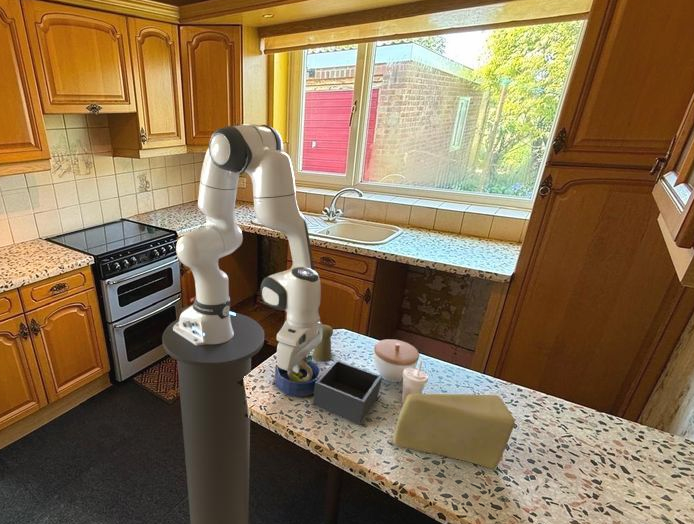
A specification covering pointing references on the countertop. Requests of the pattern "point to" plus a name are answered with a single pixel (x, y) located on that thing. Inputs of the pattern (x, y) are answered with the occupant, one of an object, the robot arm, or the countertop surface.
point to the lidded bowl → (394, 358)
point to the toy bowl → (297, 387)
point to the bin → (347, 391)
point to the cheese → (456, 426)
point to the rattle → (296, 376)
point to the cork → (324, 345)
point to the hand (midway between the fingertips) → (300, 368)
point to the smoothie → (413, 381)
